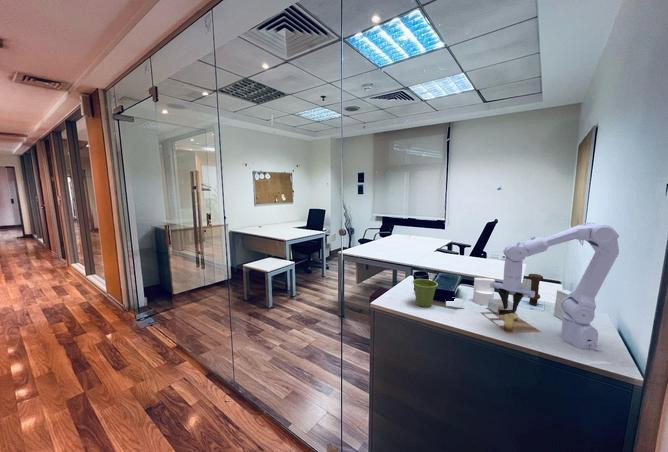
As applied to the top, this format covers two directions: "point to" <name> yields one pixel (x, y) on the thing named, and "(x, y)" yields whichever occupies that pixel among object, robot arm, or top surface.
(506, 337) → the top surface
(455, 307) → the hard drive
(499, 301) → the housing
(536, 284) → the bolt
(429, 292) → the plant pot
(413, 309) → the top surface
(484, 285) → the base with upright slab
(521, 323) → the board
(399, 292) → the top surface
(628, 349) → the top surface
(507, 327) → the pin
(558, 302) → the skincare box
